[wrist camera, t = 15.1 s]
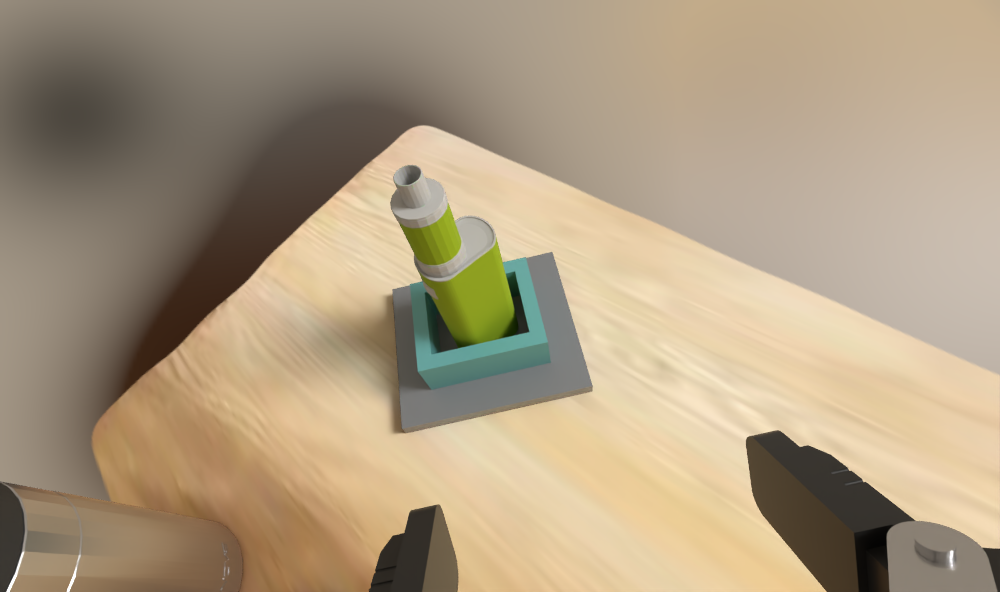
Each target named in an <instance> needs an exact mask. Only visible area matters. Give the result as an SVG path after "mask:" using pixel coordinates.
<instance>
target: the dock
mask: <svg viewBox="0 0 1000 592" xmlns="http://www.w3.org/2000/svg"><path fill="white" fill-rule="evenodd" d="M503 266H504V270H505V274H506V278H507V281H508V285H509V289H510V293H511V297H512V301H513V305H514V309H515V313H516V317H517V321H518V325H519V328H518V332H517V333H516V335H514V336H510V337H506V338H502V339H497V340H493V341H489V342H484V343H480V344H476V345H471V346H467V347H462V348H458V347H457V345H456V343H455V341H454V339H453V337H452V335H451V333H450V331H449V329H448V327H447V325H446V324H445V322H444V320H443V318H442V316H441V314H440V312H439V310H438V308H437V306H436V304H435V302H434V300H433V299H432V297H431V295H430V294H429V293H428V292H427V291H426V289H425V287H424V285H423V281H422V282H418V283H414V284H410V286H406V287H401V288H397V289H393V304H394V319H395V334H396V349H397V364H398V378H399V393H400V408H401V423H402V429H403V430H404V431H405V432H406V433H409V432H413V431H418V430H422V429H427V428H431V427H435V426H440V425H444V424H449V423H453V422H458V421H462V420H467V419H471V418H475V417H480V416H484V415H489V414H493V413H498V412H502V411H507V410H511V409H515V408H520V407H524V406H529V405H533V404H538V403H542V402H547V401H551V400H555V399H560V398H564V397H569V396H573V395H578V394H582V393H587V392H591V391H592V387H593V386H592V383H591V379H590V376H589V373H588V369H587V366H586V363H585V359H584V356H583V353H582V349H581V346H580V343H579V339H578V336H577V333H576V329H575V326H574V323H573V319H572V316H571V313H570V309H569V306H568V303H567V299H566V296H565V293H564V289H563V286H562V283H561V279H560V276H559V273H558V269H557V266H556V263H555V259H554V256H553V253H552V252H550V253H546V254H542V255H538V256H533V257H529V258H526V257H524V258H520V259H516V260H512V261H507V262H503Z"/></svg>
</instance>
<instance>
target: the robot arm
mask: <svg viewBox="0 0 1000 592" xmlns="http://www.w3.org/2000/svg"><path fill="white" fill-rule="evenodd" d="M746 449H747V456H748V464H749V471H750V479H751V486H752V492H753V496H754V499H755V501H756V504H757V506H758V508H759V510H760V511H761V513H762V515H763V516H764V517H765V518H766V520H767V521H768V522H769V523H770V524H771V526H772V527H773V528H774V529H775V530H776V532H777V533H778V534H779V535H780V536H781V538H782V539H783V540H784V541H785V542H786V543H787V545H788V546H789V547H790V548H791V549H792V551H793V552H794V553H795V554H796V555H797V557H798V558H799V559H800V560H801V561H802V563H803V564H804V565H805V566H806V567H807V569H808V570H809V571H810V572H811V573H812V575H813V576H814V577H815V578H816V579H817V580H818V582H819V583H820V584H821V585H822V586H823V588H824V589H825V590H826V591H827V592H1000V549H992V548H982V547H981V546H980V545H979V544H978V543H976V542H975V541H974V540H973V539H971V538H970V537H968V536H966V535H965V534H963V533H961V532H959V531H957V530H954V529H952V528H949V527H946V526H943V525H940V524H936V523H931V522H924V521H915V520H914V519H913V518H911V517H910V516H909V515H907V514H906V513H905V512H904V511H902V510H901V509H900V508H898V507H897V506H896V505H895V504H893V503H892V502H891V501H889V500H888V499H887V498H886V497H884V496H883V495H882V494H880V493H879V492H878V491H877V490H875V489H874V488H873V487H871V486H870V485H869V484H868V483H866V482H863V481H862V479H861V478H860V477H859V476H857V475H856V474H855V473H853V472H852V471H849V470H848V468H847V467H846V466H844V465H843V464H842V463H841V462H839V461H838V460H837V459H835V458H834V457H833V456H832V455H830V454H827V453H825V452H823V451H820V450H818V449H815V448H813V447H811V446H803V447H799V446H798V445H797V444H796V443H794V442H793V441H792V440H791V439H790V438H788V437H787V436H786V435H785V434H784V433H782V432H781V431H778V430H776V431H772V432H767V433H763V434H758V435H754V436H749V437H747V439H746ZM375 571H376V573H375V574H374V576H373V579H372V583H371V588H370V589H369V592H457V591H458V566H457V560H456V555H455V551H454V548H453V545H452V541H451V538H450V534H449V531H448V528H447V524H446V521H445V518H444V514H443V511H442V508H441V506H440V505H439V504H438V505H433V506H429V507H424V508H420V509H415V510H411V511H410V513H409V517H408V521H407V525H406V529H405V533H403V534H399V535H394V536H392V538H391V539H390V540H389V542H388V543H387V544H386V546H385V547H384V549H383V550H382V551H381V553H380V556H379V559H378V563H377V566H376V569H375ZM241 579H242V555H241V549H240V546H239V544H238V542H237V539H236V537H235V536H234V535H233V534H232V532H231V531H230V530H229V529H228V528H226V527H225V526H223V525H222V524H220V523H217V522H214V521H210V520H205V519H199V518H194V517H189V516H183V515H179V514H174V513H169V512H163V511H158V510H153V509H147V508H142V507H136V506H131V505H126V504H120V503H115V502H110V501H104V500H99V499H93V498H88V497H83V496H77V495H72V494H66V493H61V492H56V491H49V490H43V489H38V488H33V487H27V486H22V485H17V484H11V483H5V482H1V481H0V592H239V589H240V584H241Z"/></svg>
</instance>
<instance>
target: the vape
mask: <svg viewBox="0 0 1000 592" xmlns="http://www.w3.org/2000/svg"><path fill="white" fill-rule="evenodd" d="M393 179H394V183H395V185H396V187H397V190H396V191H395V193H394V194H393V195H392V198H391V202H390V204H391V210H392V212H393V214H394V216H395V217H396V219H397V221H398V222H399V224H400V226H401V228H402V230H403V232H404V234H405V236H406V238H407V240H408V242H409V244H410V246H411V248H412V250H413V252H414V263H415V266H416V268H417V270H418V272H419V274H420V276H421V279H422V281H423V285H424V287H425V289H426V291H427V292H428V293H429V294H430V295H431V297H432V299H433V300H434V302H435V304H436V306H437V308H438V310H439V312H440V314H441V316H442V318H443V320H444V322H445V324H446V325H447V327H448V329H449V331H450V333H451V335H452V337H453V339H454V341H455V343H456V345H457V347H458V348H462V347H467V346H471V345H476V344H480V343H484V342H489V341H493V340H497V339H502V338H506V337H510V336H514V335H516V333H517V332H518V328H519V325H518V321H517V317H516V313H515V309H514V305H513V301H512V297H511V293H510V289H509V285H508V281H507V278H506V274H505V270H504V266H503V262H502V258H501V254H500V250H499V246H498V242H497V238H496V234H495V231H494V229H493V227H492V226H491V225H490V224H489V223H488V222H487V221H485V220H484V219H482V218H479V217H476V216H463V217H460V218H459V219H457V220H456V221H454V218H453V215H452V212H451V209H450V206H449V204H448V200H447V196H446V193H445V190H444V188H443V187H442V185H441V184H440V183H439V182H437V181H435V180H434V179H429V178H424V175H423V173H422V170H421V169H420V167H418V166H416V165H407V166H403V167H402V168H400V169H399V170H397V171H396V173H395V174H394V177H393Z"/></svg>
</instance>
